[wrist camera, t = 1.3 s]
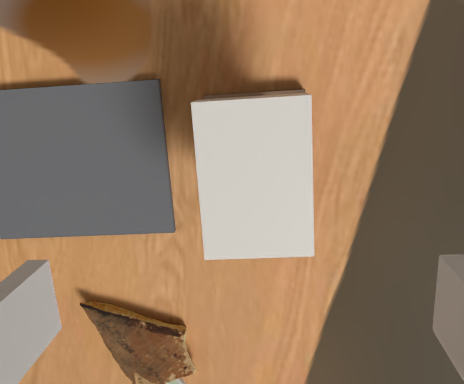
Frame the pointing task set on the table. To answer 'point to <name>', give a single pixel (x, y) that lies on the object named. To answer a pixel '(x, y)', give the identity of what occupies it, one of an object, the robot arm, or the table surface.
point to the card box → (255, 175)
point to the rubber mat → (84, 161)
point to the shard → (142, 344)
